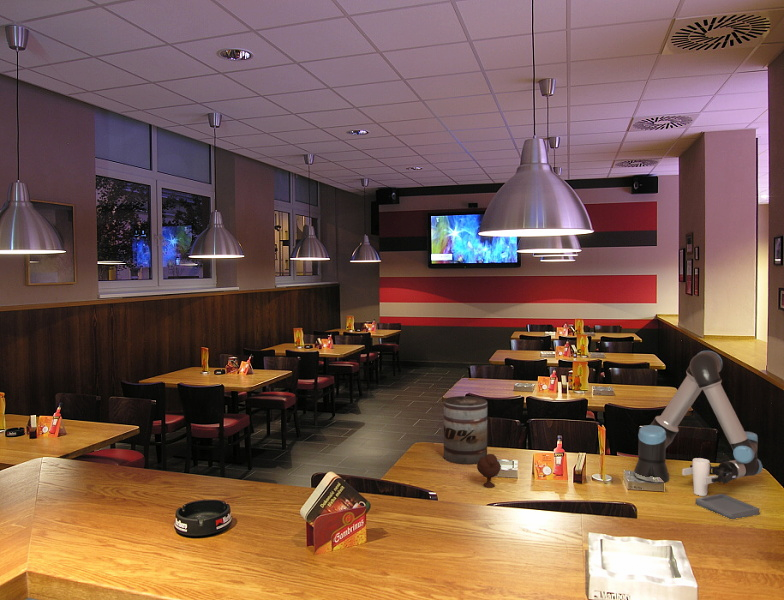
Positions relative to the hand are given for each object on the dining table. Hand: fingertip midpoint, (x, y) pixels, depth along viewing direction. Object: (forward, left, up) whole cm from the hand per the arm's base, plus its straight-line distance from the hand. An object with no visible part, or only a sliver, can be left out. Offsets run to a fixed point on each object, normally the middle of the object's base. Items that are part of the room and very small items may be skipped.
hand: (693, 476), depth 259 cm
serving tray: (+16, +1, -9) cm, 18 cm away
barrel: (-83, -67, -9) cm, 107 cm away
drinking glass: (0, +4, -9) cm, 10 cm away
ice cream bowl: (-43, -76, -9) cm, 88 cm away
